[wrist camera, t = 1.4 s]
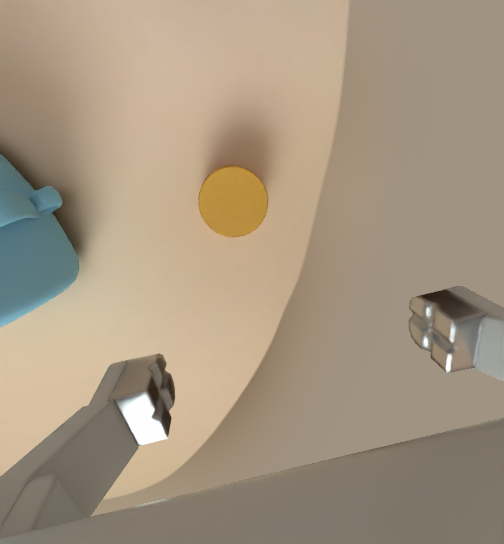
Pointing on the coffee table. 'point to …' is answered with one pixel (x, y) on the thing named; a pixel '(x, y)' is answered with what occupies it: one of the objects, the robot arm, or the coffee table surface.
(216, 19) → the coffee table surface
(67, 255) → the teapot
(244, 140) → the coffee table surface
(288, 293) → the coffee table surface
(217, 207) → the cylinder
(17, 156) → the coffee table surface
